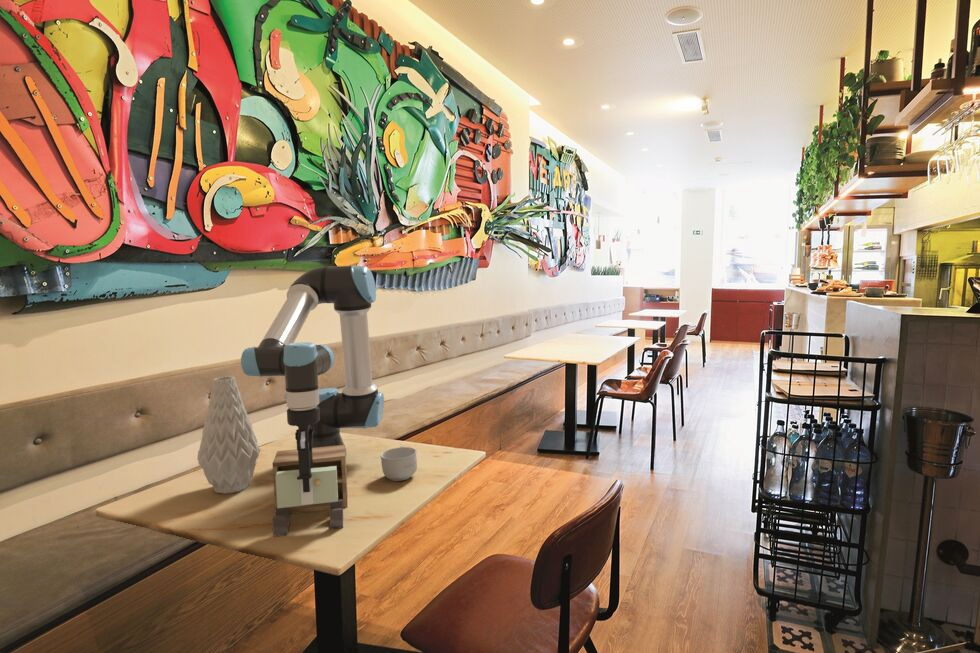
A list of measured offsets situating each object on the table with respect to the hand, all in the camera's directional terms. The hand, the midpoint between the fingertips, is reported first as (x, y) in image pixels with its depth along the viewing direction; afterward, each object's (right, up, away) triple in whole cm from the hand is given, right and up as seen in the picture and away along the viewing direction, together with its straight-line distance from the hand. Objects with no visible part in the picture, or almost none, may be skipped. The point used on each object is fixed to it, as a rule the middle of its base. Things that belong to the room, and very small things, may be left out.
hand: (308, 500), depth 136 cm
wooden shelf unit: (-2, -6, +9) cm, 10 cm away
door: (0, 0, 0) cm, 1 cm away
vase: (-31, -5, +27) cm, 41 cm away
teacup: (+17, -3, +34) cm, 38 cm away
